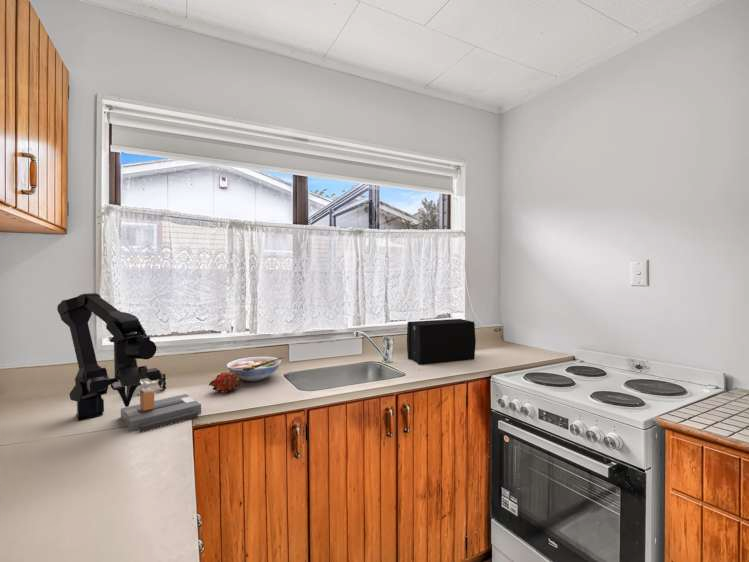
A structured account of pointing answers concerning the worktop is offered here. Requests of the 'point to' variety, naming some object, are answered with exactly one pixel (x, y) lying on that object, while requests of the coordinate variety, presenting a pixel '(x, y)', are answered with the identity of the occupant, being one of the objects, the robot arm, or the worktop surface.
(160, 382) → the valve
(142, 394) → the orange rectangular block
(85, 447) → the worktop surface
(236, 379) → the dragon fruit
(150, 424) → the grey slab
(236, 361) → the ramen bowl
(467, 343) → the uninterruptible power supply
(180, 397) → the panel
